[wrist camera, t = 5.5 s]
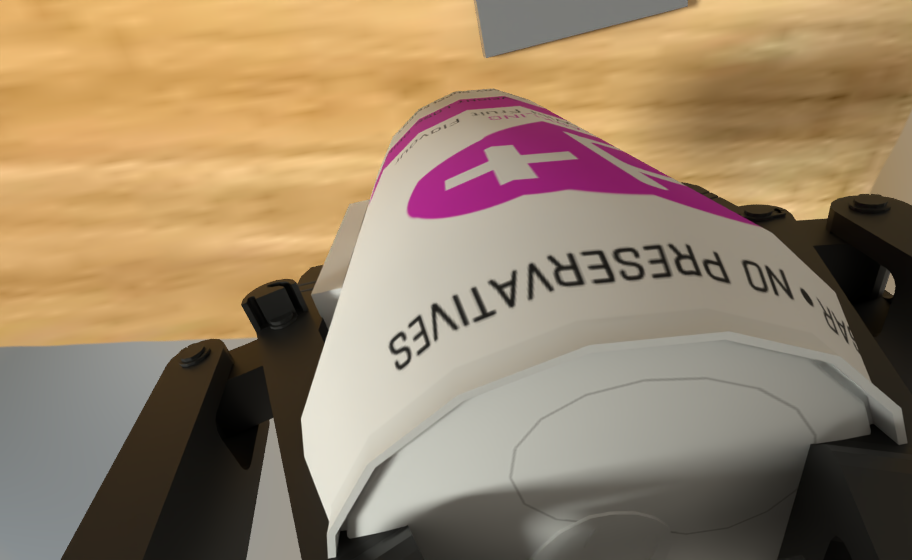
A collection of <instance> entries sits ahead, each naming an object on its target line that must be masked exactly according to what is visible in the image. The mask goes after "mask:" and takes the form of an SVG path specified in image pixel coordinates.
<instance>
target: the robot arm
mask: <svg viewBox="0 0 912 560" xmlns="http://www.w3.org/2000/svg"><path fill="white" fill-rule="evenodd" d="M682 184H684V185H685V186H687V187H689V188H691V189H693V190H695V191H696V192H698V193H700V194H702V195H704V196H706V197H707V198H709V199H711V200H713V201H715V202H716V203H718V204H720V205H722V206H724V207H726V208H727V209H729V210H731V211H733V212H735V213H737V214H738V215H740V216H742V217H744V218H746V219H747V220H749V221H751V222H753V223H755V224H757V225H758V226H760V227H762V228H764V229H766V230H768V231H769V232H771V233H773V234H774V235H775V236H776V237H777V238H778V239H779V240H780V241H781V242H782V243H783V244H784V245H785V246H787V247H788V248H789V249H790V250H791V251H792V252H793V253H794V254H795V255H796V256H797V257H798V258H799V259H800V260H801V261H802V262H804V263H805V264H806V265H807V266H808V267H809V268H810V269H811V270H812V271H813V272H814V273H815V274H816V275H817V276H818V277H819V278H821V279H822V280H823V281H824V282H825V283H826V284H827V285H828V286H829V287H830V288H831V289H832V290H833V291H834V292H835V293H836V295H837V298H838V300H839V303H840V305H841V308H842V310H843V313H844V315H845V318H846V320H847V323H848V325H849V328H850V330H851V333H852V335H853V338H854V340H855V343H856V345H857V348H858V350H859V353H860V355H861V358H862V360H863V363H864V365H865V368H866V370H867V373H868V375H869V378H870V380H871V383H872V384H873V385H875V386H876V387H877V388H878V389H879V390H880V391H882V392H883V393H884V394H885V395H886V396H888V397H889V398H890V399H891V400H892V401H893V402H895V403H896V404H897V405H898V406H899V407H900V408H901V409H902V415H903V420H904V426H905V431H906V437H907V443H906V444H901V445H898V444H897V443H896V442H895V441H893V440H892V439H891V438H890V437H889V436H887V435H886V434H885V433H884V432H883V431H882V430H880V429H879V428H878V427H877V426H876V425H874V424H870V429H871V433H870V434H869V435H864V436H859V437H854V438H849V439H844V440H838V441H831V442H824V443H817V444H810V448H809V451H808V455H807V458H806V462H805V465H804V469H803V472H802V475H801V479H800V482H799V486H798V489H797V493H796V496H795V500H794V503H793V507H792V510H791V513H790V517H789V520H788V524H787V527H786V531H785V534H784V538H783V541H782V544H781V548H780V551H779V555H778V558H777V560H912V205H909V204H908V203H905V202H903V201H900V200H897V199H894V198H889V197H883V196H881V195H875V194H871V195H869V194H860V195H858V196H848V197H843V198H839V199H837V200H835V201H833V202H832V203H831V206H830V211H829V215H828V219H815V220H800V221H796V220H795V218H794V217H793V215H792V214H791V213H790V212H788V211H787V210H785V209H783V208H780V207H777V206H770V205H745V206H739V207H738V206H736V205H734V204H732V203H730V202H728V201H726V200H725V199H723V198H721V197H719V198H718V196H717V195H715V194H713V193H709V191H707V190H706V189H704V188H702V187H700V186H697V185H692V184H688V183H683V182H682ZM369 201H370V200H365V201H361V202H357V203H352V204H349V207H348V209H347V211H346V214H345V216H344V218H343V221H342V223H341V225H340V228H339V230H338V232H337V235H336V237H335V239H334V242H333V244H332V246H331V249H330V251H329V254H328V256H327V258H326V261H325V263H324V265H320V266H316V267H311V268H310V269H309V270H308V271H307V272H306V273H305V274H304V275H302V276H301V278H300V280H299V282H298V284H297V283H296V282H295V281H294V280H291V279H282V280H276V281H273V282H270V283H266V284H264V285H262V286H260V287H258V288H256V289H255V290H253V291H252V292H250V293H249V294H248V295H247V296H246V297H245V298H244V299H243V301H242V304H241V305H242V307H243V309H244V311H245V313H246V314H247V316H248V318H249V320H250V322H251V324H252V325H253V327H254V329H255V331H256V333H257V338H258V339H257V340H255V341H252V342H250V343H248V344H245V345H243V346H241V347H238V348H235V349H233V350H230V351H228V349H227V347H226V346H225V344H224V342H222V341H221V340H220V339H209V340H204V341H201V342H199V343H194V344H191V345H189V346H188V348H184V349H183V350H181V351H180V353H178V354H177V355H176V356H175V357H173V358H172V359H171V360H170V362H169V363H168V364H167V366H166V367H165V370H164V371H163V373H162V375H161V377H160V378H159V380H158V382H157V384H156V386H155V388H154V389H153V391H152V393H151V395H150V397H149V399H148V400H147V402H146V404H145V406H144V408H143V410H142V411H141V413H140V415H139V417H138V419H137V421H136V422H135V424H134V426H133V428H132V430H131V432H130V434H129V436H128V437H127V439H126V441H125V443H124V444H123V446H122V448H121V450H120V452H119V454H118V455H117V457H116V459H115V461H114V463H113V465H112V466H111V468H110V470H109V472H108V474H107V476H106V478H105V479H104V481H103V483H102V485H101V487H100V488H99V490H98V492H97V494H96V496H95V498H94V499H93V501H92V503H91V505H90V507H89V509H88V510H87V512H86V514H85V516H84V518H83V520H82V522H81V523H80V525H79V527H78V529H77V531H76V532H75V534H74V536H73V538H72V540H71V542H70V543H69V545H68V547H67V549H66V551H65V553H64V554H63V556H62V558H61V560H246V557H247V551H248V546H249V540H250V534H251V528H252V523H253V517H254V510H255V505H256V499H257V494H258V487H259V482H260V476H261V470H262V465H263V459H264V453H265V447H266V442H267V436H268V430H269V419H271V418H274V423H275V428H276V433H277V438H278V443H279V448H280V453H281V458H282V463H283V468H284V473H285V478H286V483H287V488H288V493H289V497H290V503H291V508H292V513H293V518H294V522H295V528H296V532H297V538H298V543H299V548H300V553H301V558H302V560H424V558H423V556H422V554H421V552H420V550H419V548H418V545H417V543H416V541H415V539H414V537H413V535H412V532H411V530H410V528H409V526H408V525H407V526H404V527H400V528H396V529H392V530H388V531H384V532H380V533H376V534H371V535H366V536H361V537H356V538H351V539H350V538H349V537H347V530H344V531H340V535H339V542H338V548H337V554H336V557H334V558H329V559H328V547H327V531H328V526H329V520H328V517H327V514H326V512H325V509H324V507H323V504H322V501H321V499H320V496H319V494H318V491H317V489H316V486H315V483H314V481H313V478H312V476H311V473H310V470H309V468H308V465H307V463H306V460H305V457H304V448H303V436H302V424H301V417H302V414H303V411H304V408H305V405H306V401H307V398H308V395H309V392H310V389H311V386H312V382H313V379H314V376H315V373H316V370H317V366H318V363H319V360H320V357H321V354H322V351H323V347H324V344H325V341H326V338H327V335H328V331H329V328H330V325H331V322H332V319H333V316H334V312H335V309H336V306H337V303H338V300H339V296H340V293H341V290H342V287H343V284H344V281H345V277H346V274H347V271H348V268H349V265H350V261H351V258H352V255H353V252H354V249H355V246H356V242H357V239H358V236H359V233H360V230H361V226H362V223H363V220H364V217H365V214H366V211H367V207H368V204H369ZM890 272H891V274H892V276H893V278H894V280H895V285H896V287H895V293H894V296H893V295H892V294H890V293H889V292H887V291H886V290H885V287H886V284H887V281H888V278H889V275H890Z"/></svg>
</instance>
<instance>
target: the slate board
mask: <svg viewBox="0 0 912 560" xmlns="http://www.w3.org/2000/svg"><path fill="white" fill-rule="evenodd" d="M474 4H475V9H476V15H477V21H478V27H479V33H480V38H481V44H482V50H483V56H484V58H488V57H492V56H495V55H499V54H503V53H507V52H511V51H515V50H519V49H523V48H527V47H531V46H534V45H538V44H542V43H546V42H550V41H554V40H558V39H562V38H566V37H570V36H573V35H577V34H581V33H585V32H589V31H593V30H597V29H601V28H605V27H609V26H612V25H616V24H620V23H624V22H628V21H632V20H636V19H640V18H644V17H648V16H651V15H655V14H659V13H663V12H667V11H671V10H675V9H679V8H683V7H687V6H688V0H474Z"/></svg>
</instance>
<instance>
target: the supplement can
mask: <svg viewBox="0 0 912 560" xmlns="http://www.w3.org/2000/svg"><path fill="white" fill-rule="evenodd" d="M301 424H302V436H303V448H304V457H305V460H306V463H307V465H308V468H309V470H310V473H311V476H312V478H313V481H314V483H315V486H316V489H317V491H318V494H319V496H320V499H321V501H322V504H323V507H324V509H325V512H326V514H327V517H328V520H329V526H328V531H327V547H328V559H329V558H334V557H336V554H337V548H338V542H339V535H340V531H344V530H347V537H349V538H350V539H351V538H356V537H361V536H366V535H371V534H376V533H380V532H384V531H388V530H392V529H396V528H400V527H404V526H407V525H408V526H409V528H410V530H411V532H412V535H413V537H414V539H415V541H416V543H417V545H418V548H419V550H420V552H421V554H422V556H423V558H424V560H777V558H778V555H779V551H780V548H781V544H782V541H783V538H784V534H785V531H786V527H787V524H788V520H789V517H790V513H791V510H792V507H793V503H794V500H795V496H796V493H797V489H798V486H799V482H800V479H801V475H802V472H803V469H804V465H805V462H806V458H807V455H808V451H809V448H810V444H817V443H824V442H831V441H838V440H844V439H849V438H854V437H859V436H864V435H869V434H870V433H871V429H870V424H874V425H876V426H877V427H878V428H879V429H880V430H882V431H883V432H884V433H885V434H886V435H887V436H889V437H890V438H891V439H892V440H893V441H895V442H896V443H897V444H898V445H901V444H906V443H907V437H906V431H905V426H904V420H903V415H902V409H901V408H900V407H899V406H898V405H897V404H896V403H895V402H893V401H892V400H891V399H890V398H889V397H888V396H886V395H885V394H884V393H883V392H882V391H880V390H879V389H878V388H877V387H876V386H875V385H873V384H872V383H871V380H870V378H869V375H868V373H867V370H866V368H865V365H864V363H863V360H862V358H861V355H860V353H859V350H858V348H857V345H856V343H855V340H854V338H853V335H852V333H851V330H850V328H849V325H848V323H847V320H846V318H845V315H844V313H843V310H842V308H841V305H840V303H839V300H838V298H837V295H836V293H835V292H834V291H833V290H832V289H831V288H830V287H829V286H828V285H827V284H826V283H825V282H824V281H823V280H822V279H821V278H819V277H818V276H817V275H816V274H815V273H814V272H813V271H812V270H811V269H810V268H809V267H808V266H807V265H806V264H805V263H804V262H802V261H801V260H800V259H799V258H798V257H797V256H796V255H795V254H794V253H793V252H792V251H791V250H790V249H789V248H788V247H787V246H785V245H784V244H783V243H782V242H781V241H780V240H779V239H778V238H777V237H776V236H775V235H774V234H773V233H771V232H769V231H768V230H766V229H764V228H762V227H760V226H758V225H757V224H755V223H753V222H751V221H749V220H747V219H746V218H744V217H742V216H740V215H738V214H737V213H735V212H733V211H731V210H729V209H727V208H726V207H724V206H722V205H720V204H718V203H716V202H715V201H713V200H711V199H709V198H707V197H706V196H704V195H702V194H700V193H698V192H696V191H695V190H693V189H691V188H689V187H687V186H685V185H684V184H682V183H680V182H678V181H676V180H675V179H673V178H671V177H669V176H667V175H665V174H664V173H662V172H660V171H658V170H656V169H654V168H653V167H651V166H649V165H647V164H645V163H644V162H642V161H640V160H638V159H636V158H634V157H633V156H631V155H629V154H627V153H625V152H623V151H622V150H620V149H618V148H616V147H614V146H613V145H611V144H609V143H607V142H605V141H603V140H602V139H600V138H598V137H596V136H594V135H592V134H591V133H589V132H587V131H585V130H583V129H582V128H580V127H578V126H576V125H574V124H572V123H571V122H569V121H567V120H565V119H563V118H561V117H560V116H558V115H556V114H554V113H552V112H551V111H549V110H547V109H545V108H543V107H541V106H540V105H538V104H536V103H534V102H532V101H530V100H528V99H525V98H522V97H518V96H515V95H512V94H509V93H506V92H503V91H499V90H496V89H482V90H470V91H457V92H453V93H451V94H449V95H447V96H445V97H443V98H441V99H438V100H436V101H434V102H432V103H430V104H428V105H426V106H424V107H422V108H420V109H419V110H418V111H417V112H416V113H415V114H414V115H413V116H412V117H411V118H410V119H409V120H408V121H407V122H406V123H405V125H404V126H403V127H402V128H401V129H400V130H399V131H398V132H397V133H396V134H395V135H394V136H393V138H392V140H391V143H390V145H389V148H388V150H387V153H386V155H385V157H384V160H383V162H382V165H381V167H380V170H379V172H378V176H377V179H376V182H375V185H374V188H373V191H372V195H371V198H370V201H369V204H368V207H367V211H366V214H365V217H364V220H363V223H362V226H361V230H360V233H359V236H358V239H357V242H356V246H355V249H354V252H353V255H352V258H351V261H350V265H349V268H348V271H347V274H346V277H345V281H344V284H343V287H342V290H341V293H340V296H339V300H338V303H337V306H336V309H335V312H334V316H333V319H332V322H331V325H330V328H329V331H328V335H327V338H326V341H325V344H324V347H323V351H322V354H321V357H320V360H319V363H318V366H317V370H316V373H315V376H314V379H313V382H312V386H311V389H310V392H309V395H308V398H307V401H306V405H305V408H304V411H303V414H302V417H301Z"/></svg>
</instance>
